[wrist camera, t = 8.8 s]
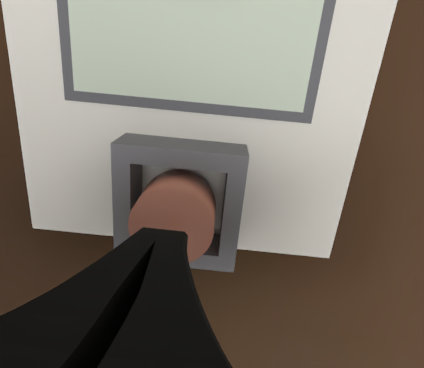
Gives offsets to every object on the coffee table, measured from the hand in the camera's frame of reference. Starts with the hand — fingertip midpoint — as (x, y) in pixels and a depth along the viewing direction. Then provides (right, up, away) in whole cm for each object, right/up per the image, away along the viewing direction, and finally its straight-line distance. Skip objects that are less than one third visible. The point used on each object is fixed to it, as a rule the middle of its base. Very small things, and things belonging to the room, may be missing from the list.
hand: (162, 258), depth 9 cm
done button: (0, +1, +4) cm, 4 cm away
